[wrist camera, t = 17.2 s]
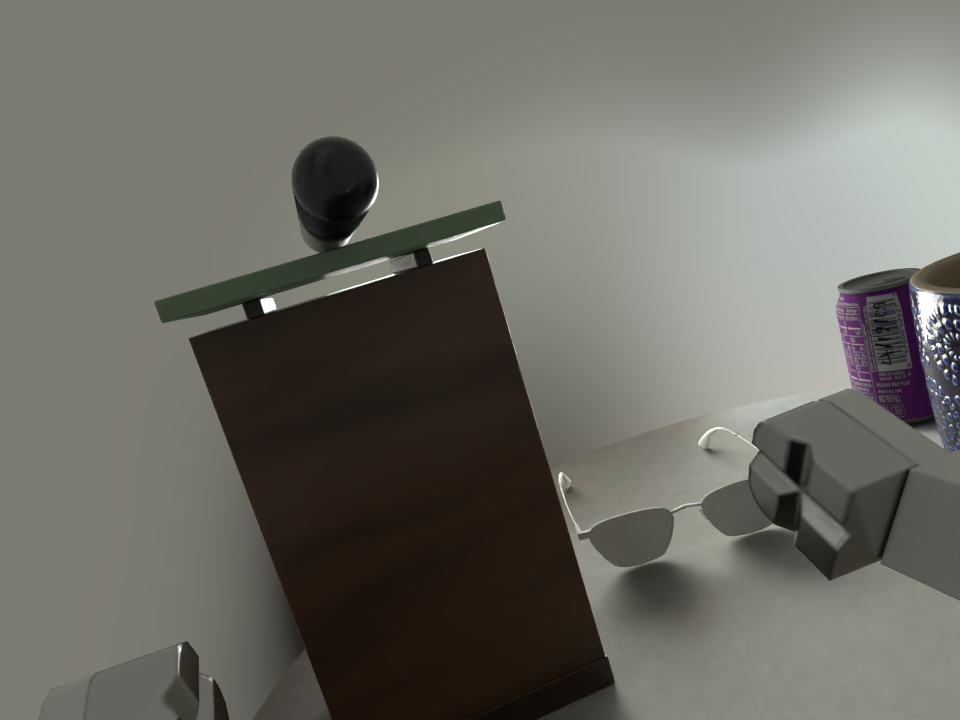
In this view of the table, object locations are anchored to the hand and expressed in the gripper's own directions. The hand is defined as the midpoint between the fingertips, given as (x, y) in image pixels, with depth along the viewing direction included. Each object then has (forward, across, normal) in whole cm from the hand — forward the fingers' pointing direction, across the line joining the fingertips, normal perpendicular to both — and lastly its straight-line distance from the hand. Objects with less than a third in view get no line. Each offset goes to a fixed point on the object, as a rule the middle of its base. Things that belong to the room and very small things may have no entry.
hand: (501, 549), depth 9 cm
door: (+17, 0, +3) cm, 17 cm away
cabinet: (+16, 0, +31) cm, 35 cm away
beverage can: (+25, -43, +35) cm, 61 cm away
